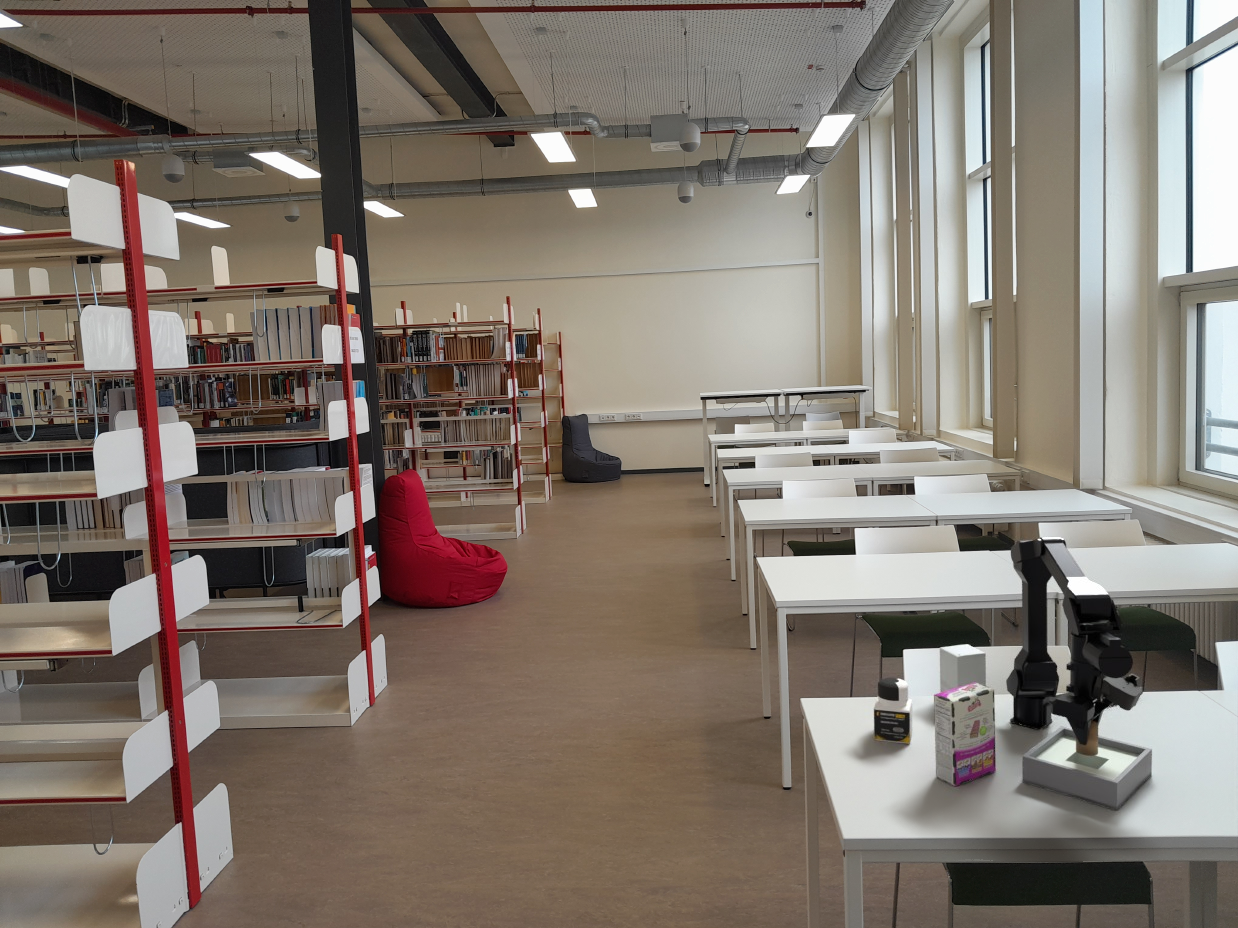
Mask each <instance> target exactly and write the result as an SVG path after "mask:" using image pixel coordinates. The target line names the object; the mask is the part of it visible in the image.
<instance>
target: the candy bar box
mask: <svg viewBox="0 0 1238 928" xmlns="http://www.w3.org/2000/svg"><path fill="white" fill-rule="evenodd" d="M933 704H934V705H933V707H934V708H933V709H934V734H935V735H934V741H935V742H934V744H935V747H934V748H935V777H936V778H937V779H939V780H941V781H943V782H945V783H947V784H949V785H951V786H954V787H958V786H960V785H963V784H967V783H968V782H971V781H973V780H976V779H979V778H982V777H985V776H986V775H989V774H993V773H994V772H996V771H997V770H996V769H997V766H996V765H997V761H996V760H997V759H996V755H997V754H996V719H995V718H996V717H995V716H996V713H995V710H996V709H995V688H993V687H990V686H987V685H986V686H985V685H981V684H980V683H975V682H974V683H971V684H967V685H964V686H961V687H957V688H954V689H951V690H948V691H944V692H941V693H940V692H938V693H935V694H933Z"/></svg>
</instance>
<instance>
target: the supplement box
mask: <svg viewBox="0 0 1238 928" xmlns="http://www.w3.org/2000/svg"><path fill="white" fill-rule="evenodd" d="M986 657H987V656H986V652H984V651H982V650H980V649H978V648H976V647H973V646H971V644H967V643H966V644H957V645H951V646H942V647H939V681H940V682H939V687H940V689H939V693H941V692H944V691H948V690H951V689H954V688H957V687H961V686H964V685H967V684H971V683H974V682H975V683H980V684H981V685H985V686H987V680H986V679H987V673H986V671H987V670H986V669H987V667H986V663H987V662H986V659H987V658H986Z"/></svg>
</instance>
